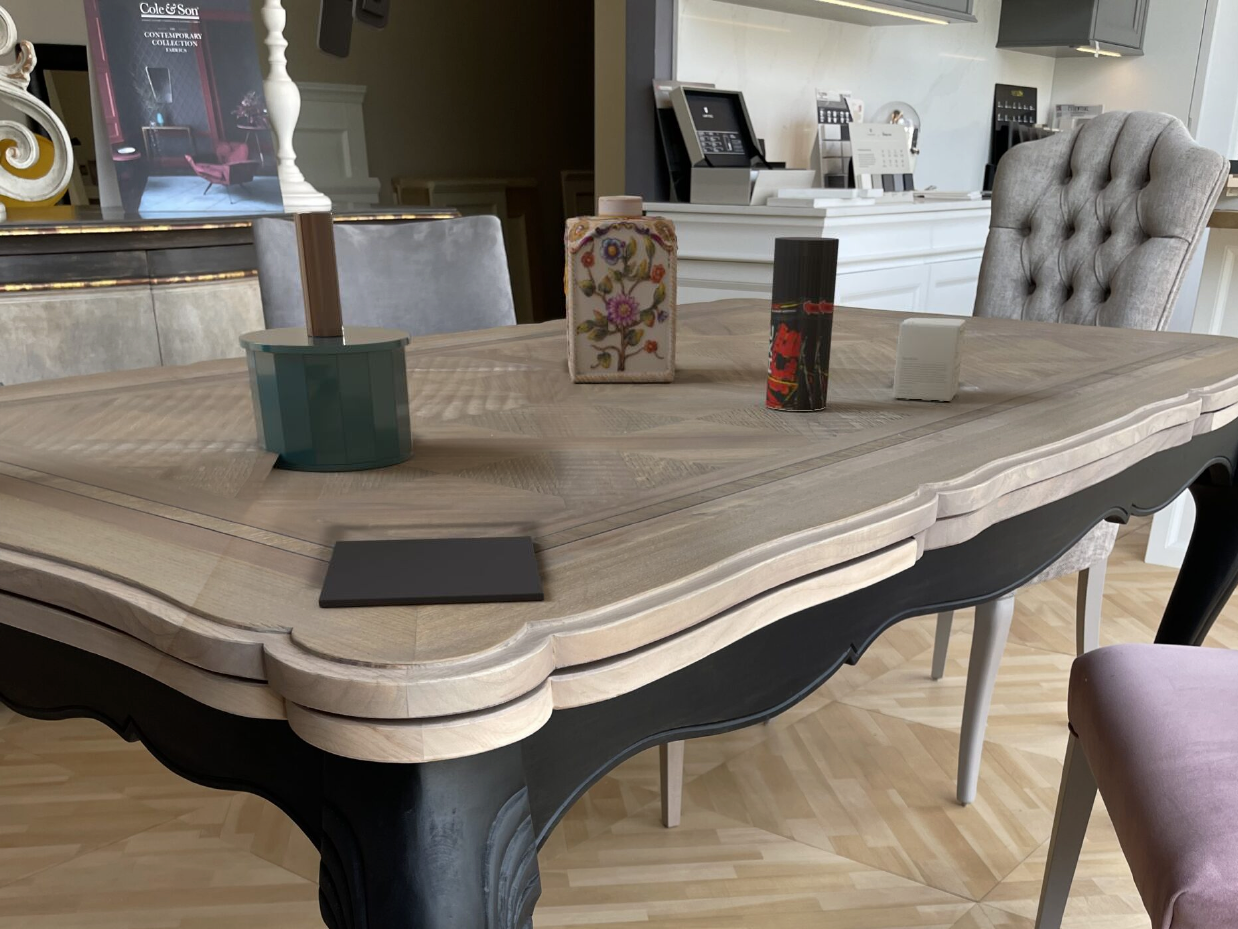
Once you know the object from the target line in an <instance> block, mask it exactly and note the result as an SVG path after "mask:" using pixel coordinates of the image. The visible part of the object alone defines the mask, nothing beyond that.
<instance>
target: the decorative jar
mask: <svg viewBox="0 0 1238 929" xmlns="http://www.w3.org/2000/svg"><path fill="white" fill-rule="evenodd" d="M564 228H565V231H564V234H563V236H564V237H563V242H564V243H563V244H564V251H565V252H564V259H565V264H564V266H565V267H564V276H563V284H564V285H563V288H564V289H563V290H564V294H565V297H566V298H565V309H566V312H565V313H566V314H565V316H566V344H567V365H568V370H569V376H570V380H571V382H572V384H579V383H581V384H583V383H584V384H586V383H589V384H592V383H595V384H596V383H597V384H598V383H672V382H673V381H674V379H675V373H676V372H675V370H676V349H677V348H676V347H677V346H676V344H677V303H678V302H677V297H678V296H677V295H678V291H677V290H678V282H677V281H678V280H677V279H678V276H677V275H678V251H679V246H678V236H677V235H676V227H675V222H674V220H673V219H671V218H667V217H664V216H661V215H645V216H643V197H642V196H636V195H635V196H634V195H609V196H607V195H605V196H600V197H598V214H597V215H577V216H575V217H570V218H567V219H566V220H565V226H564Z"/></svg>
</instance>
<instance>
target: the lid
mask: <svg viewBox="0 0 1238 929" xmlns="http://www.w3.org/2000/svg"><path fill="white" fill-rule="evenodd" d="M333 217H334V216H333V212H332V211H294V212H293V219H294V220H293V221H294V228H295V238H296V247H297V257H298V266H299V275H300V283H301V285H300V286H301V293H302V302H303V310H304V320H305V326H289V327H279V328H269V329H261V330H259V329H258V330H255V331H249V332H245V333H243V334H240V335H239V336H238V343H239V347H240V348H242V349H245V350H246V349H247V350H252V351H258V352H266V353H279V354H350V353H365V352H376V351H384V350H391V349H396V348H401V347H404V346H405V347H407V346H409V345H410V344H411V343H412V336H411V333H410V332H408V331H406V330H402V329H397V328H390V327H389V328H388V327H380V326H379V327H378V326H362V325H360V326H359V325H344V320H343V319H344V318H343V310H342V301H341V300H342V299H341V289H340V278H339V268H338V260H337V258H338V257H337V247H336V237H335V227H334V226H335V225H334V218H333Z"/></svg>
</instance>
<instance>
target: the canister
mask: <svg viewBox="0 0 1238 929" xmlns="http://www.w3.org/2000/svg"><path fill="white" fill-rule="evenodd" d="M406 347H407V346H404V347H401V348H396V349H391V350H384V351H376V352H365V353H350V354H279V353H266V352H258V351H252V350H247V349H245V355H246V356H245V357H246V362H247V371H248V378H249V385H250V394H251V402H252V408H253V416H254V423H255V424H254V425H255V430H256V431H255V432H256V438H257V446H258V447H260V448H261V449H262V450H264V451H266V452H270V453H274V454H278V456H277V458H276V460H274V463H273V465H272V467H274V468H278V469H282V470H283V469H284V470H291V471H300V472H301V471H302V472H320V473H321V472H322V473H323V472H325V473H327V472H328V473H329V472H352V471H363V470H365V471H366V470H371V469H379V468H385V467H389V466H394V465H397V464H400V463H403V462H406V461H408V460H410V459H411V458H412V457H413V455H414V450H413V449H414V448H413V446H414V442H413V428H412V427H413V426H412V415H411V402H410V400H411V399H410V388H409V387H410V386H409V376H408V374H409V373H408V363H407V362H408V361H407V349H406Z"/></svg>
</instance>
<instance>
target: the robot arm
mask: <svg viewBox="0 0 1238 929" xmlns="http://www.w3.org/2000/svg"><path fill="white" fill-rule="evenodd" d="M390 5H391V0H320V4H319V16H318V24H317V34H316V45H315V46H316V49H317V51H318V52H319V53H320V54H321V55H325V56H327V57H330V58H333V59H335V60H338V61H343V60H345V59H346V58H348V56H349V55H350V49H351V39H352V32H353V31H352V30H353V22H355V23H356V24H358V25H360V26H363V27H366V28H368V29H371V30H373V31H375V32H381V31H382V30H384V29H385V28H386V27H387V26H388V22H389V14H390V12H389V11H390Z"/></svg>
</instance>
